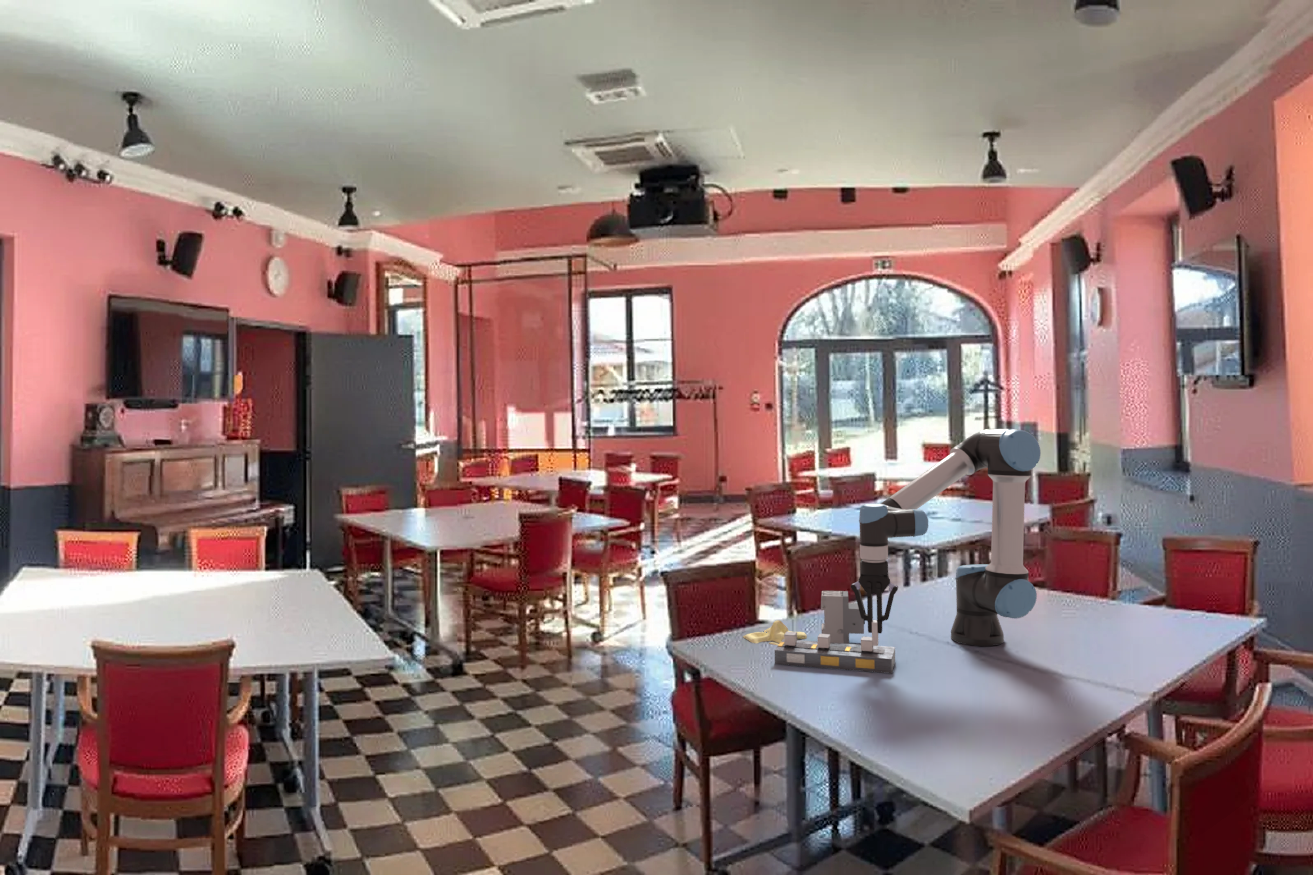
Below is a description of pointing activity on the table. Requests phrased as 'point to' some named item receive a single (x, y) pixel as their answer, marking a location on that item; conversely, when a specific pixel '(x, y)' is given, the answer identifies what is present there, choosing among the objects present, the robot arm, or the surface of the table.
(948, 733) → the table surface
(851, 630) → the circuit breaker
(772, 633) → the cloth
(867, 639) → the knob
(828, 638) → the knob
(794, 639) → the knob
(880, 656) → the console
